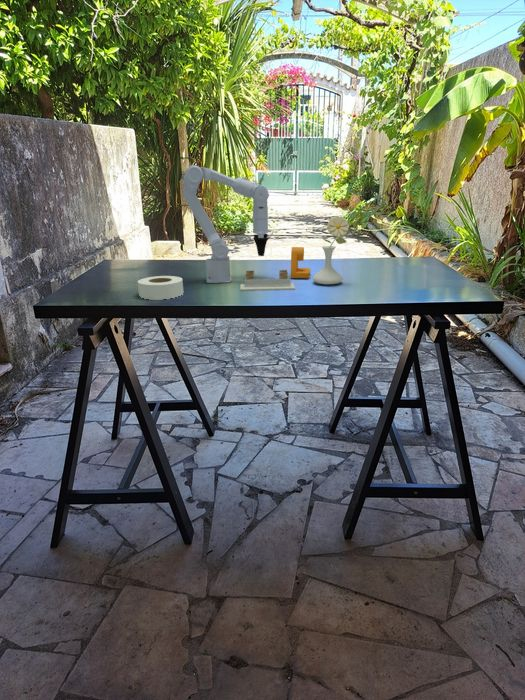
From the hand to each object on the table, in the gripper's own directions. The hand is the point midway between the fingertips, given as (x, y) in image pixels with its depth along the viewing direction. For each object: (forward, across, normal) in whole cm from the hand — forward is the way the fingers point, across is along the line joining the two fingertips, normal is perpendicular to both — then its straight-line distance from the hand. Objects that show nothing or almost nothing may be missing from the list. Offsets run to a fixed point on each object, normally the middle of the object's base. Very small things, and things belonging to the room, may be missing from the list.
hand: (261, 254), depth 188 cm
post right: (+10, -6, -8) cm, 14 cm away
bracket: (+10, +3, -16) cm, 19 cm away
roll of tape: (+10, -22, +36) cm, 44 cm away
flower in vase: (+10, -10, -26) cm, 30 cm away
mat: (+10, -15, -2) cm, 18 cm away
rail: (+9, -15, -2) cm, 18 cm away
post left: (+10, -6, +4) cm, 12 cm away
